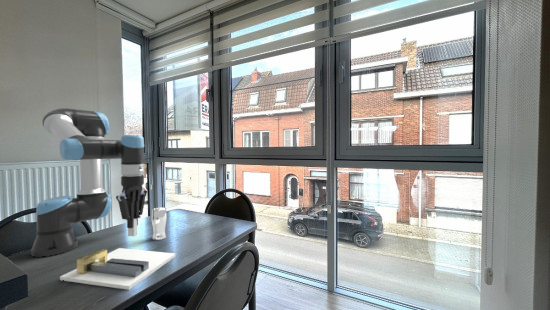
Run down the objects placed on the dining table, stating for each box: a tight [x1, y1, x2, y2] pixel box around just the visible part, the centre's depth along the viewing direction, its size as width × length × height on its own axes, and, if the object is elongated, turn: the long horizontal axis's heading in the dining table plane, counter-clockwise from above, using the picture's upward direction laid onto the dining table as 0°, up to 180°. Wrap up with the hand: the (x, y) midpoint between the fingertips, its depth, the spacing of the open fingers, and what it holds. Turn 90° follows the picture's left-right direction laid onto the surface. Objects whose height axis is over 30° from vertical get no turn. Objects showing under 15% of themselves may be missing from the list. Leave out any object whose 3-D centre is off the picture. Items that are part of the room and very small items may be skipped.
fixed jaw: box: [87, 261, 141, 277], centre depth 83 cm, size 24×2×2 cm, turn 79°
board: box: [59, 247, 176, 291], centre depth 89 cm, size 28×24×1 cm
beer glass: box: [151, 206, 168, 241], centre depth 118 cm, size 7×7×15 cm
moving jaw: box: [106, 258, 149, 271], centre depth 85 cm, size 16×2×2 cm, turn 81°
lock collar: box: [76, 248, 108, 274], centre depth 86 cm, size 3×9×5 cm, turn 169°
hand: (132, 235), depth 90 cm, fingers closed
